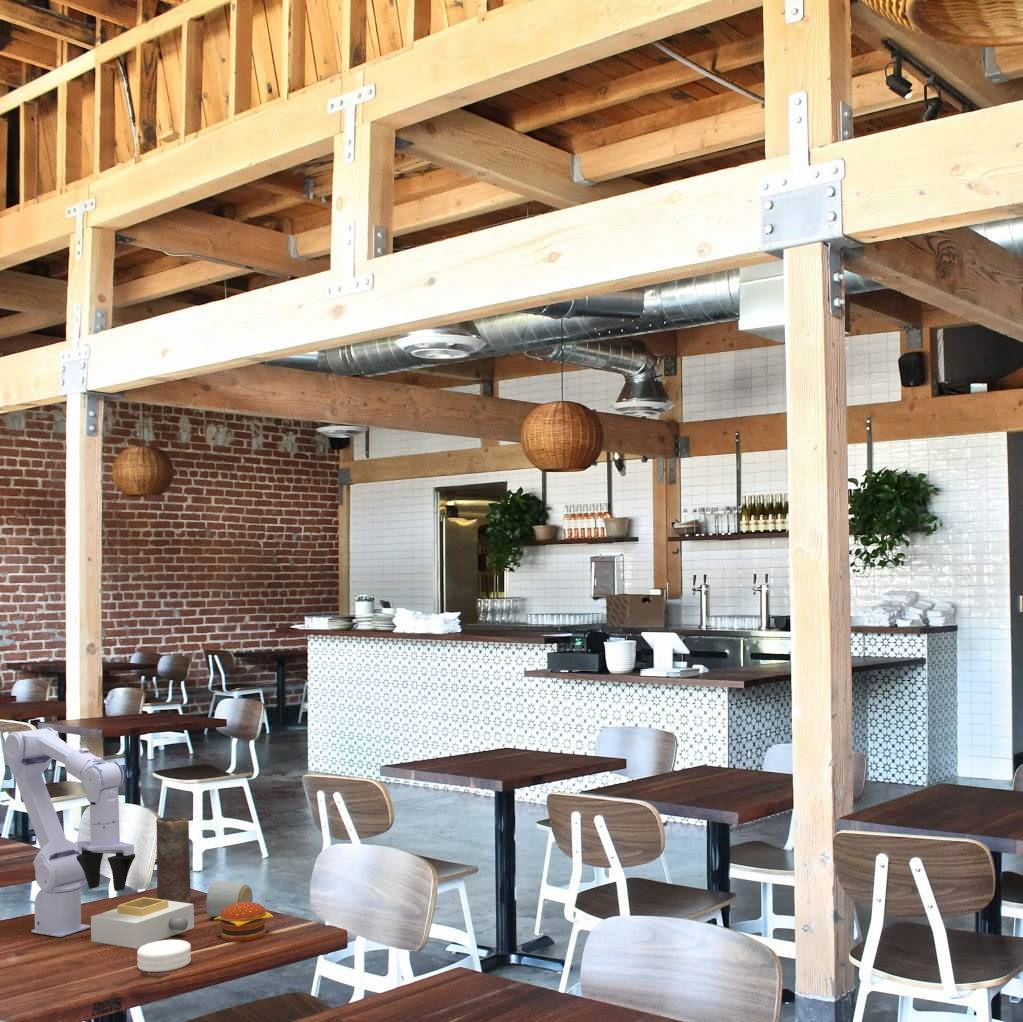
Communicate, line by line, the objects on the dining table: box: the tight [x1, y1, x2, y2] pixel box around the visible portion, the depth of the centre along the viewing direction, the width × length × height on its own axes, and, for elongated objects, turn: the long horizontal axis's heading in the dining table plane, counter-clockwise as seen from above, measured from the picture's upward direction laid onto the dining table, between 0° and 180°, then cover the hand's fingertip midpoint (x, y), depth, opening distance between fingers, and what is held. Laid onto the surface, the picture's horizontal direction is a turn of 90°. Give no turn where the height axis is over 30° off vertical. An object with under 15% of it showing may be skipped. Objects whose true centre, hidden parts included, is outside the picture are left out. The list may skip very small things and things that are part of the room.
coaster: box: [136, 939, 192, 973], centre depth 234 cm, size 10×10×4 cm
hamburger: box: [213, 901, 274, 943], centre depth 252 cm, size 9×10×7 cm
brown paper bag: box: [156, 816, 192, 903], centre depth 277 cm, size 8×7×20 cm
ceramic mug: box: [205, 880, 253, 918], centre depth 269 cm, size 11×8×8 cm
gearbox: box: [90, 896, 195, 950], centre depth 255 cm, size 16×16×6 cm
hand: (106, 888), depth 253 cm, fingers open, 7 cm apart
